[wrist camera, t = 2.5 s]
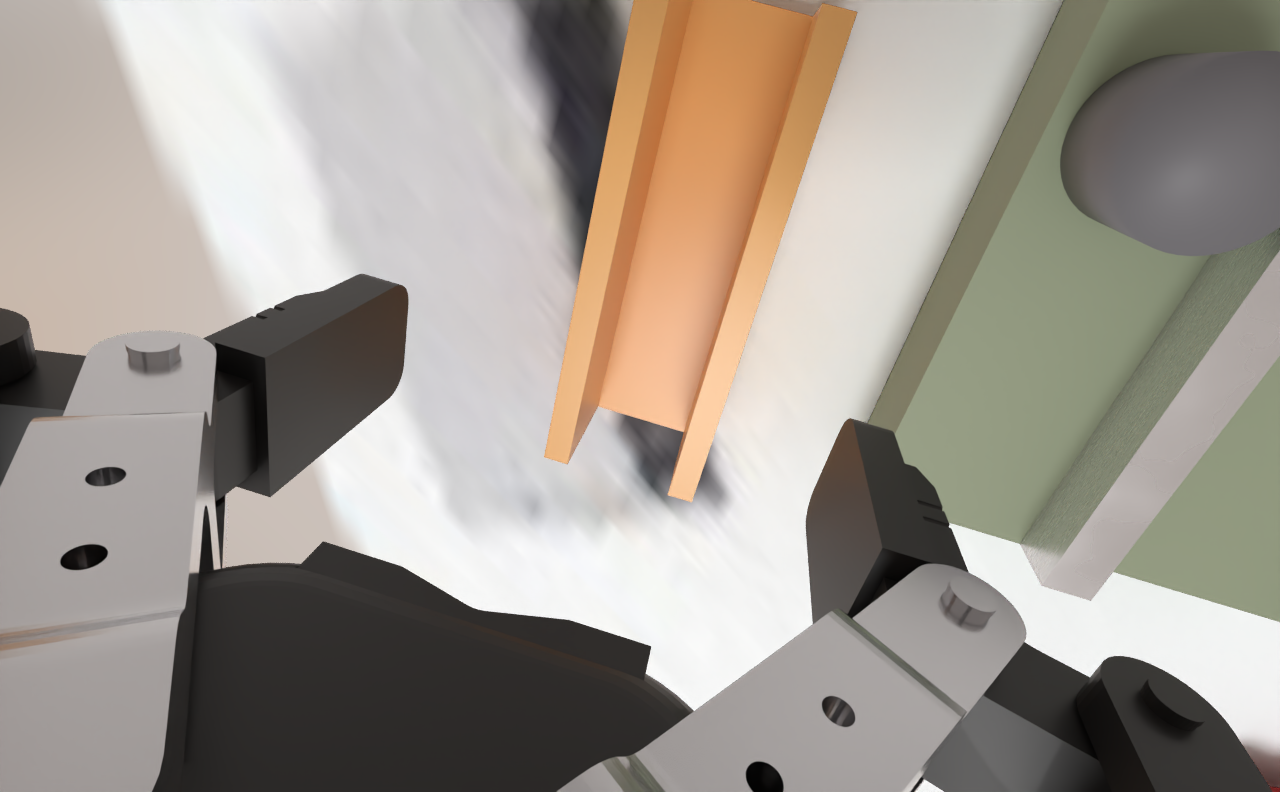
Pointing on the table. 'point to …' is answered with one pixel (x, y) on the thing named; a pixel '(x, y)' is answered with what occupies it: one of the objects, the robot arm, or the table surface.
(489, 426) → the table surface
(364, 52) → the table surface
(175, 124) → the table surface
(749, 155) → the discharge chute
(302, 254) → the table surface
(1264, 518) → the marble run board
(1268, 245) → the chute cradle
